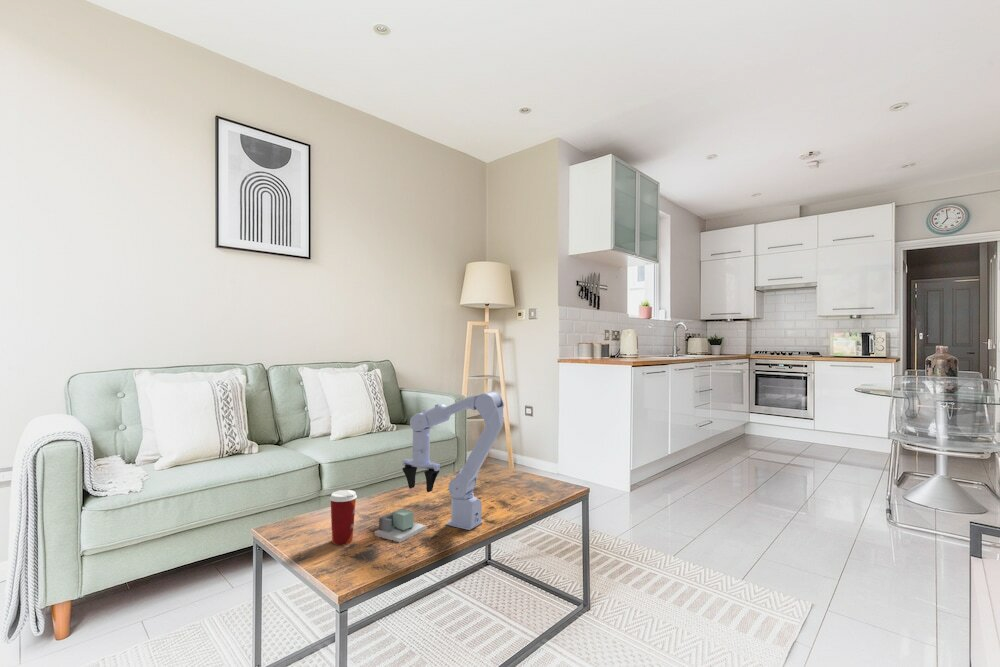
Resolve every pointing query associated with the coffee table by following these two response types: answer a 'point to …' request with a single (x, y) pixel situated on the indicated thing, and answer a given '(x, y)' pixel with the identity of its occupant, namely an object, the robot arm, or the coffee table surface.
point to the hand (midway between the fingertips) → (420, 489)
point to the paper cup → (342, 516)
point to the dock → (396, 534)
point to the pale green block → (403, 519)
